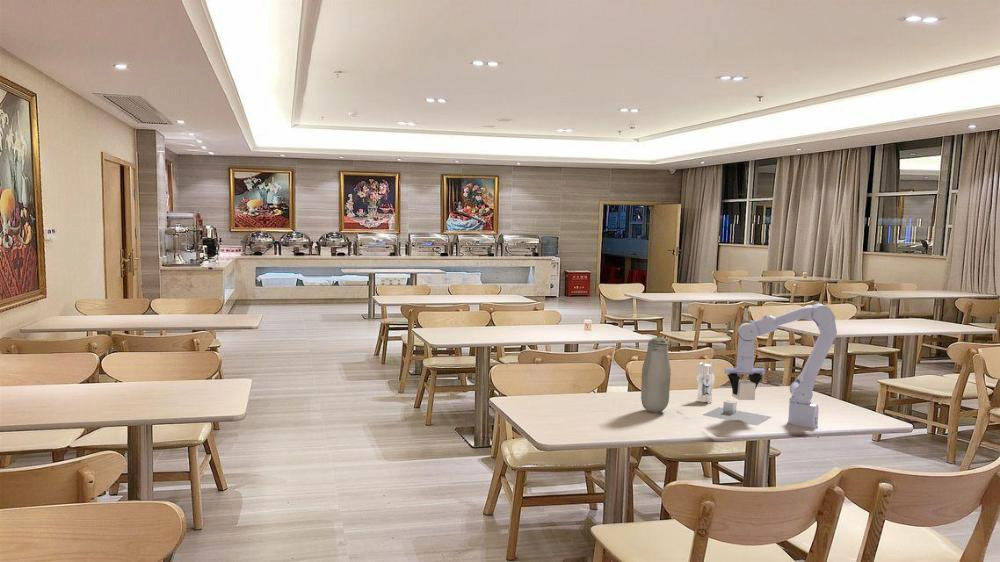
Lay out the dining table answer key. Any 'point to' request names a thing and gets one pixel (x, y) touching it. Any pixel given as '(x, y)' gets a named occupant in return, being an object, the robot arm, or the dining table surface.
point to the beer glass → (705, 381)
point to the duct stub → (729, 407)
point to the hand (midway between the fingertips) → (743, 394)
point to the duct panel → (738, 416)
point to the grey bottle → (656, 376)
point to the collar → (745, 390)
